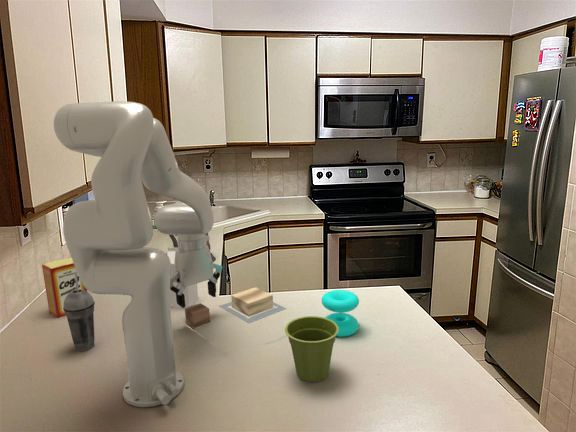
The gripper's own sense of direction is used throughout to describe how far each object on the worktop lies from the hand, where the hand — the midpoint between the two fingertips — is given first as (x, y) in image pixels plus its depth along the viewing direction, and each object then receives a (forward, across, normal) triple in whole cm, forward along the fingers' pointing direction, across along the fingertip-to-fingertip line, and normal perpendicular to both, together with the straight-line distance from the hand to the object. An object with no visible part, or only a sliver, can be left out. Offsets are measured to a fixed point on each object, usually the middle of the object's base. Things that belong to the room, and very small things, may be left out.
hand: (197, 300), depth 120 cm
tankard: (+9, -24, -52) cm, 58 cm away
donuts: (+7, -26, +31) cm, 41 cm away
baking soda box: (+7, +26, -36) cm, 45 cm away
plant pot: (+6, -6, +41) cm, 42 cm away
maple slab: (+6, -16, +4) cm, 18 cm away
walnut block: (+7, +1, +1) cm, 7 cm away
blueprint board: (+7, -16, +4) cm, 18 cm away
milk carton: (+7, -2, -14) cm, 16 cm away
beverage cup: (+6, +29, -8) cm, 31 cm away
